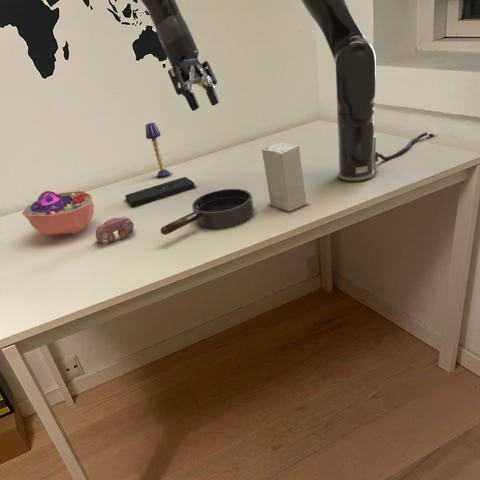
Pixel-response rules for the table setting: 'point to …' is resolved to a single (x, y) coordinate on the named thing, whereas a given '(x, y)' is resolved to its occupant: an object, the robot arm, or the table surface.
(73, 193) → the cell model
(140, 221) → the table surface
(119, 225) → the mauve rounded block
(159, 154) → the toy lamp
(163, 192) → the smart home device
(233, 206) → the pan
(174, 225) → the pan handle
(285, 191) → the cosmetic box
